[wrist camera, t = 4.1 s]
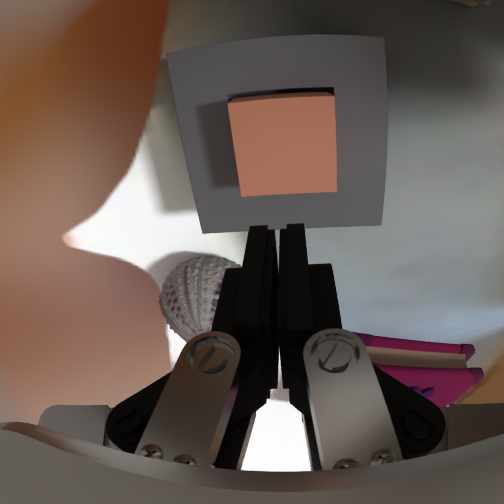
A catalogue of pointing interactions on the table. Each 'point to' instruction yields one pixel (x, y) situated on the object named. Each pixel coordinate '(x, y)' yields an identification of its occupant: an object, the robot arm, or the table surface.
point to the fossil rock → (472, 2)
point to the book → (425, 366)
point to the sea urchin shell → (193, 295)
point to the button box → (276, 82)
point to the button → (285, 143)
